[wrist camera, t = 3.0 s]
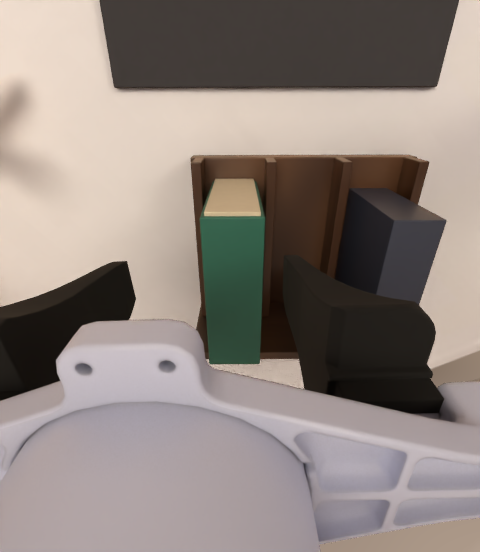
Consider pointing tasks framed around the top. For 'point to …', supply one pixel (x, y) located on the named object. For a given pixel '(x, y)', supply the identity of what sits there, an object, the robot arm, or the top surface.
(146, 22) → the felt mat
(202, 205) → the book rack
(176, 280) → the top surface
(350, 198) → the navy book
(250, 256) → the green book
